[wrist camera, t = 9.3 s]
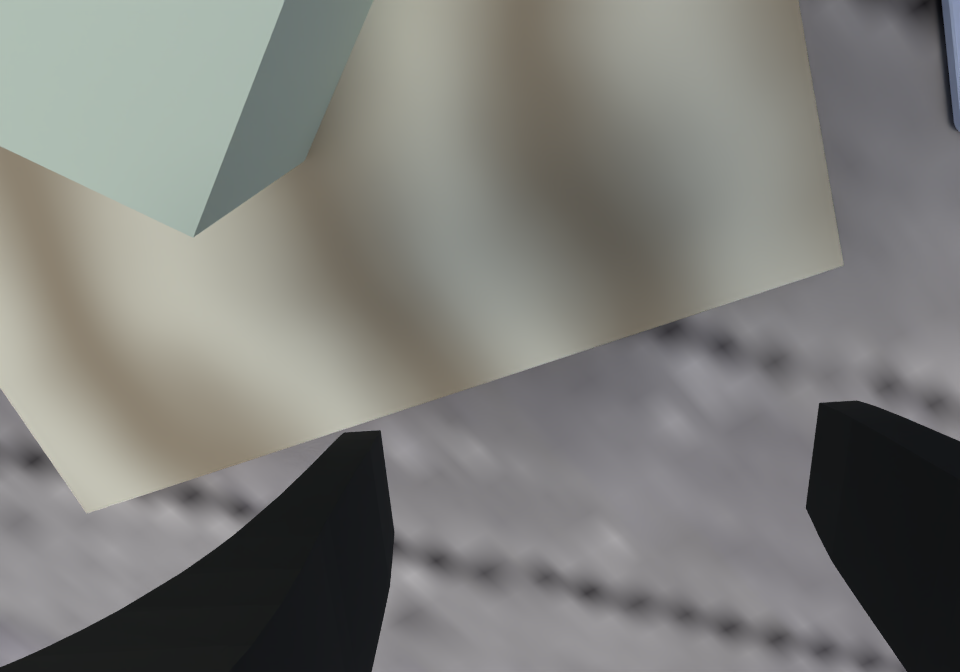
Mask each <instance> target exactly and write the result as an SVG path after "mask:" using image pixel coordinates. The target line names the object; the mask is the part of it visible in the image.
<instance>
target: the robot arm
mask: <svg viewBox="0 0 960 672" xmlns="http://www.w3.org/2000/svg"><path fill="white" fill-rule="evenodd" d="M942 10H943V20H944V29H945V39H946V49H947V59H948V69H949V78H950V88H951V98H952V108H953V118H954V124H955V127H956V129H957V130H958V131H959V132H960V0H942ZM806 509H807V511H808V514H809V516H810V518H811V520H812V522H813V524H814V526H815V529H816V531H817V533H818V535H819V537H820V539H821V541H822V543H823V545H824V547H825V549H826V551H827V553H828V555H829V557H830V559H831V560H832V562H833V564H834V565H835V567H836V568H837V570H838V571H839V573H840V574H841V576H842V577H843V579H844V580H845V582H846V583H847V585H848V586H849V588H850V589H851V591H852V592H853V594H854V595H855V597H856V598H857V599H858V601H859V602H860V604H861V605H862V607H863V608H864V610H865V611H866V613H867V614H868V616H869V617H870V618H871V620H872V621H873V623H874V624H875V626H876V627H877V629H878V630H879V631H880V633H881V634H882V636H883V637H884V639H885V640H886V642H887V643H888V645H889V646H890V647H891V649H892V650H893V652H894V653H895V655H896V656H897V658H898V659H899V661H900V662H901V663H902V665H903V666H904V668H905V669H906V671H907V672H960V441H958V440H955V439H953V438H951V437H948V436H946V435H944V434H941V433H939V432H937V431H934V430H932V429H930V428H927V427H925V426H923V425H920V424H918V423H916V422H913V421H911V420H909V419H906V418H904V417H901V416H899V415H896V414H894V413H891V412H889V411H886V410H884V409H881V408H879V407H876V406H873V405H870V404H867V403H863V402H860V401H843V402H827V403H819V409H818V417H817V425H816V432H815V440H814V448H813V456H812V464H811V471H810V479H809V487H808V495H807V503H806ZM393 544H394V526H393V519H392V511H391V504H390V497H389V489H388V482H387V475H386V467H385V460H384V453H383V445H382V438H381V431H380V430H379V431H363V432H347V433H343V434H342V435H341V436H340V437H339V438H338V439H337V440H336V441H335V442H334V443H333V444H332V445H331V446H330V447H329V448H328V449H327V450H326V451H325V452H324V453H323V454H322V455H321V456H320V457H319V458H318V459H317V460H316V461H315V462H314V463H313V464H312V465H311V466H310V467H309V468H308V469H307V470H306V471H305V472H304V473H303V474H302V475H301V476H300V477H299V478H298V479H296V480H295V481H294V482H293V483H292V484H291V485H290V486H289V487H288V488H287V489H286V490H285V491H284V492H283V493H282V494H281V495H280V496H279V497H278V498H276V499H275V500H274V501H273V502H272V503H271V504H269V505H268V506H267V507H266V508H265V509H264V510H263V511H261V512H260V513H259V514H258V515H257V516H256V517H254V518H253V519H252V520H251V521H250V522H249V523H248V524H246V525H245V526H244V527H243V528H242V529H241V530H239V531H238V532H237V533H236V534H234V535H233V536H232V537H231V538H229V539H228V540H227V541H225V542H224V543H223V544H221V545H220V546H219V547H217V548H216V549H215V550H213V551H212V552H210V553H209V554H208V555H206V556H205V557H203V558H202V559H201V560H199V561H198V562H196V563H195V564H193V565H192V566H191V567H189V568H188V569H186V570H185V571H183V572H182V573H180V574H179V575H177V576H175V577H174V578H172V579H170V580H169V581H167V582H165V583H164V584H162V585H160V586H159V587H157V588H156V589H154V590H152V591H151V592H149V593H147V594H146V595H144V596H142V597H141V598H139V599H137V600H136V601H134V602H132V603H131V604H129V605H127V606H126V607H124V608H122V609H120V610H119V611H117V612H115V613H113V614H111V615H109V616H108V617H106V618H104V619H102V620H100V621H98V622H96V623H94V624H92V625H90V626H89V627H87V628H85V629H83V630H81V631H79V632H77V633H75V634H73V635H71V636H69V637H66V638H64V639H62V640H60V641H58V642H56V643H54V644H52V645H50V646H48V647H46V648H44V649H42V650H39V651H37V652H35V653H33V654H31V655H29V656H26V657H24V658H22V659H19V660H17V661H15V662H12V663H10V664H7V665H5V666H3V667H0V672H372V667H373V663H374V658H375V654H376V649H377V644H378V640H379V635H380V631H381V626H382V621H383V617H384V612H385V607H386V603H387V598H388V593H389V588H390V579H391V568H392V557H393Z"/></svg>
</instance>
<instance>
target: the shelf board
mask: <svg viewBox="0 0 960 672" xmlns="http://www.w3.org/2000/svg"><path fill="white" fill-rule="evenodd" d="M841 266H844V264H843V258H842V252H841V246H840V240H839V235H838V229H837V223H836V217H835V211H834V205H833V200H832V194H831V188H830V182H829V176H828V170H827V165H826V159H825V153H824V147H823V141H822V135H821V130H820V124H819V118H818V112H817V106H816V100H815V95H814V89H813V83H812V77H811V71H810V65H809V59H808V54H807V48H806V42H805V36H804V30H803V24H802V19H801V13H800V7H799V1H798V0H373V2H372V5H371V7H370V9H369V12H368V14H367V16H366V19H365V21H364V23H363V26H362V28H361V30H360V33H359V35H358V37H357V40H356V42H355V44H354V47H353V49H352V51H351V54H350V56H349V58H348V61H347V63H346V65H345V68H344V70H343V72H342V75H341V77H340V79H339V82H338V84H337V86H336V89H335V91H334V93H333V96H332V98H331V100H330V103H329V105H328V107H327V110H326V112H325V114H324V117H323V119H322V121H321V124H320V126H319V128H318V131H317V133H316V135H315V138H314V140H313V142H312V145H311V147H310V149H309V152H308V154H307V156H306V159H305V161H303V162H302V163H301V164H299V165H298V166H296V167H295V168H293V169H292V170H290V171H289V172H288V173H286V174H285V175H283V176H282V177H280V178H279V179H277V180H276V181H274V182H273V183H272V184H270V185H269V186H267V187H266V188H264V189H263V190H261V191H260V192H259V193H257V194H256V195H254V196H253V197H251V198H250V199H248V200H247V201H246V202H244V203H243V204H241V205H240V206H238V207H237V208H235V209H234V210H233V211H231V212H230V213H228V214H227V215H225V216H224V217H222V218H221V219H219V220H218V221H217V222H215V223H214V224H212V225H211V226H209V227H208V228H206V229H205V230H204V231H202V232H201V233H199V234H198V235H196V236H195V237H193V238H192V237H190V236H188V235H186V234H184V233H182V232H180V231H178V230H176V229H173V228H171V227H169V226H167V225H165V224H163V223H161V222H159V221H157V220H155V219H152V218H150V217H148V216H146V215H144V214H142V213H140V212H138V211H136V210H133V209H131V208H129V207H127V206H125V205H123V204H121V203H119V202H117V201H115V200H112V199H110V198H108V197H106V196H104V195H102V194H100V193H98V192H96V191H93V190H91V189H89V188H87V187H85V186H83V185H81V184H79V183H77V182H75V181H72V180H70V179H68V178H66V177H64V176H62V175H60V174H58V173H56V172H54V171H51V170H49V169H47V168H45V167H43V166H41V165H39V164H37V163H35V162H32V161H30V160H28V159H26V158H24V157H22V156H20V155H18V154H16V153H14V152H11V151H9V150H7V149H5V148H3V147H1V146H0V388H1V389H2V391H3V392H4V394H5V395H6V397H7V398H8V400H9V401H10V403H11V404H12V405H13V407H14V408H15V410H16V411H17V413H18V414H19V416H20V417H21V419H22V420H23V421H24V423H25V424H26V426H27V427H28V429H29V430H30V432H31V433H32V435H33V436H34V437H35V439H36V440H37V442H38V443H39V445H40V446H41V448H42V449H43V451H44V452H45V454H46V455H47V456H48V458H49V459H50V461H51V462H52V464H53V465H54V467H55V468H56V470H57V471H58V472H59V474H60V475H61V477H62V478H63V480H64V481H65V483H66V484H67V486H68V487H69V488H70V490H71V491H72V493H73V494H74V496H75V497H76V499H77V500H78V502H79V503H80V504H81V506H82V507H83V509H84V510H85V512H86V513H90V512H93V511H96V510H99V509H102V508H105V507H108V506H111V505H114V504H118V503H121V502H124V501H127V500H130V499H133V498H136V497H139V496H142V495H145V494H148V493H151V492H154V491H157V490H160V489H163V488H166V487H169V486H172V485H176V484H179V483H182V482H185V481H188V480H191V479H194V478H197V477H200V476H203V475H206V474H209V473H212V472H215V471H218V470H221V469H224V468H227V467H231V466H234V465H237V464H240V463H243V462H246V461H249V460H252V459H255V458H258V457H261V456H264V455H267V454H270V453H273V452H276V451H279V450H282V449H285V448H289V447H292V446H295V445H298V444H301V443H304V442H307V441H310V440H313V439H316V438H319V437H322V436H325V435H328V434H331V433H334V432H337V431H340V430H344V429H347V428H350V427H353V426H356V425H359V424H362V423H365V422H368V421H371V420H374V419H377V418H380V417H383V416H386V415H389V414H392V413H395V412H398V411H402V410H405V409H408V408H411V407H414V406H417V405H420V404H423V403H426V402H429V401H432V400H435V399H438V398H441V397H444V396H447V395H450V394H453V393H457V392H460V391H463V390H466V389H469V388H472V387H475V386H478V385H481V384H484V383H487V382H490V381H493V380H496V379H499V378H502V377H505V376H508V375H511V374H515V373H518V372H521V371H524V370H527V369H530V368H533V367H536V366H539V365H542V364H545V363H548V362H551V361H554V360H557V359H560V358H563V357H566V356H570V355H573V354H576V353H579V352H582V351H585V350H588V349H591V348H594V347H597V346H600V345H603V344H606V343H609V342H612V341H615V340H618V339H621V338H624V337H628V336H631V335H634V334H637V333H640V332H643V331H646V330H649V329H652V328H655V327H658V326H661V325H664V324H667V323H670V322H673V321H676V320H679V319H683V318H686V317H689V316H692V315H695V314H698V313H701V312H704V311H707V310H710V309H713V308H716V307H719V306H722V305H725V304H728V303H731V302H734V301H737V300H741V299H744V298H747V297H750V296H753V295H756V294H759V293H762V292H765V291H768V290H771V289H774V288H777V287H780V286H783V285H786V284H789V283H792V282H796V281H799V280H802V279H805V278H808V277H811V276H814V275H817V274H820V273H823V272H826V271H829V270H832V269H835V268H838V267H841Z"/></svg>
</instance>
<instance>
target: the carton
mask: <svg viewBox="0 0 960 672" xmlns="http://www.w3.org/2000/svg"><path fill="white" fill-rule="evenodd" d="M372 2H373V0H0V146H1V147H3V148H5V149H7V150H9V151H11V152H14V153H16V154H18V155H20V156H22V157H24V158H26V159H28V160H30V161H32V162H35V163H37V164H39V165H41V166H43V167H45V168H47V169H49V170H51V171H54V172H56V173H58V174H60V175H62V176H64V177H66V178H68V179H70V180H72V181H75V182H77V183H79V184H81V185H83V186H85V187H87V188H89V189H91V190H93V191H96V192H98V193H100V194H102V195H104V196H106V197H108V198H110V199H112V200H115V201H117V202H119V203H121V204H123V205H125V206H127V207H129V208H131V209H133V210H136V211H138V212H140V213H142V214H144V215H146V216H148V217H150V218H152V219H155V220H157V221H159V222H161V223H163V224H165V225H167V226H169V227H171V228H173V229H176V230H178V231H180V232H182V233H184V234H186V235H188V236H190V237H192V238H193V237H195V236H196V235H198V234H199V233H201V232H202V231H204V230H205V229H206V228H208V227H209V226H211V225H212V224H214V223H215V222H217V221H218V220H219V219H221V218H222V217H224V216H225V215H227V214H228V213H230V212H231V211H233V210H234V209H235V208H237V207H238V206H240V205H241V204H243V203H244V202H246V201H247V200H248V199H250V198H251V197H253V196H254V195H256V194H257V193H259V192H260V191H261V190H263V189H264V188H266V187H267V186H269V185H270V184H272V183H273V182H274V181H276V180H277V179H279V178H280V177H282V176H283V175H285V174H286V173H288V172H289V171H290V170H292V169H293V168H295V167H296V166H298V165H299V164H301V163H302V162H303V161H305V159H306V156H307V154H308V152H309V149H310V147H311V145H312V142H313V140H314V138H315V135H316V133H317V131H318V128H319V126H320V124H321V121H322V119H323V117H324V114H325V112H326V110H327V107H328V105H329V103H330V100H331V98H332V96H333V93H334V91H335V89H336V86H337V84H338V82H339V79H340V77H341V75H342V72H343V70H344V68H345V65H346V63H347V61H348V58H349V56H350V54H351V51H352V49H353V47H354V44H355V42H356V40H357V37H358V35H359V33H360V30H361V28H362V26H363V23H364V21H365V19H366V16H367V14H368V12H369V9H370V7H371V5H372Z"/></svg>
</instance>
